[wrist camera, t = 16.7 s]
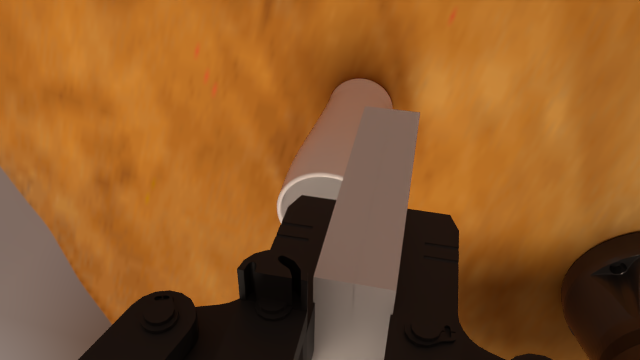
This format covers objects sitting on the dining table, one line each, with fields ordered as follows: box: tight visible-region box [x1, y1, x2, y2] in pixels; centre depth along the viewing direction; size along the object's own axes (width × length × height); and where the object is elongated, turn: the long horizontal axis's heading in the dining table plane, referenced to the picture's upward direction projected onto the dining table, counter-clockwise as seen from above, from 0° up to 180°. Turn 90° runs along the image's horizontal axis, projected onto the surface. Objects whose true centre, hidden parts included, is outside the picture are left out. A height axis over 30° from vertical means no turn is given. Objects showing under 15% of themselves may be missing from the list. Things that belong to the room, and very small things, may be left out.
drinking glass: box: [277, 78, 393, 224], centre depth 41 cm, size 7×7×15 cm
